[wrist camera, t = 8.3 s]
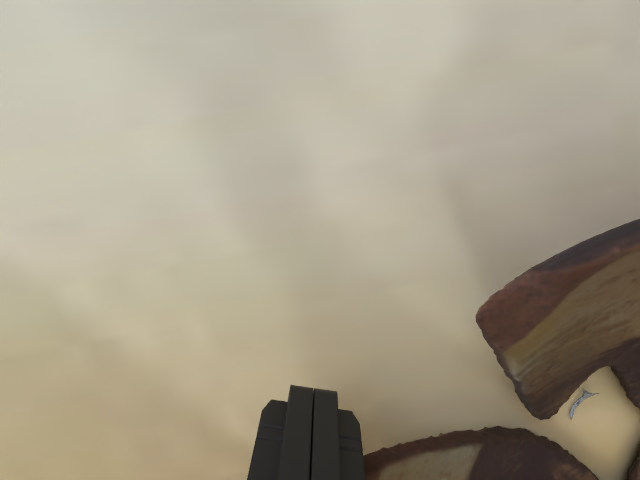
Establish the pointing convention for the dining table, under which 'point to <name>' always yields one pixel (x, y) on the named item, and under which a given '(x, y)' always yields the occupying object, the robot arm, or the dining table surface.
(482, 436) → the broken ceramic bowl
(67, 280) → the dining table surface
